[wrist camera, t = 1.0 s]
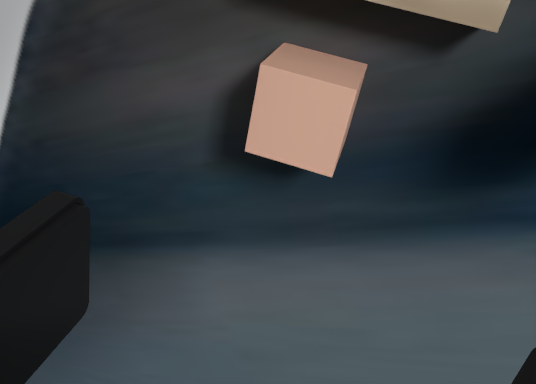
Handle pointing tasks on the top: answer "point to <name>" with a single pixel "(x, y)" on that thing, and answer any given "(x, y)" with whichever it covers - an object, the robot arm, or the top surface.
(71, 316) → the robot arm
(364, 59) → the top surface
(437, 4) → the maple block
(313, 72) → the terracotta cube
